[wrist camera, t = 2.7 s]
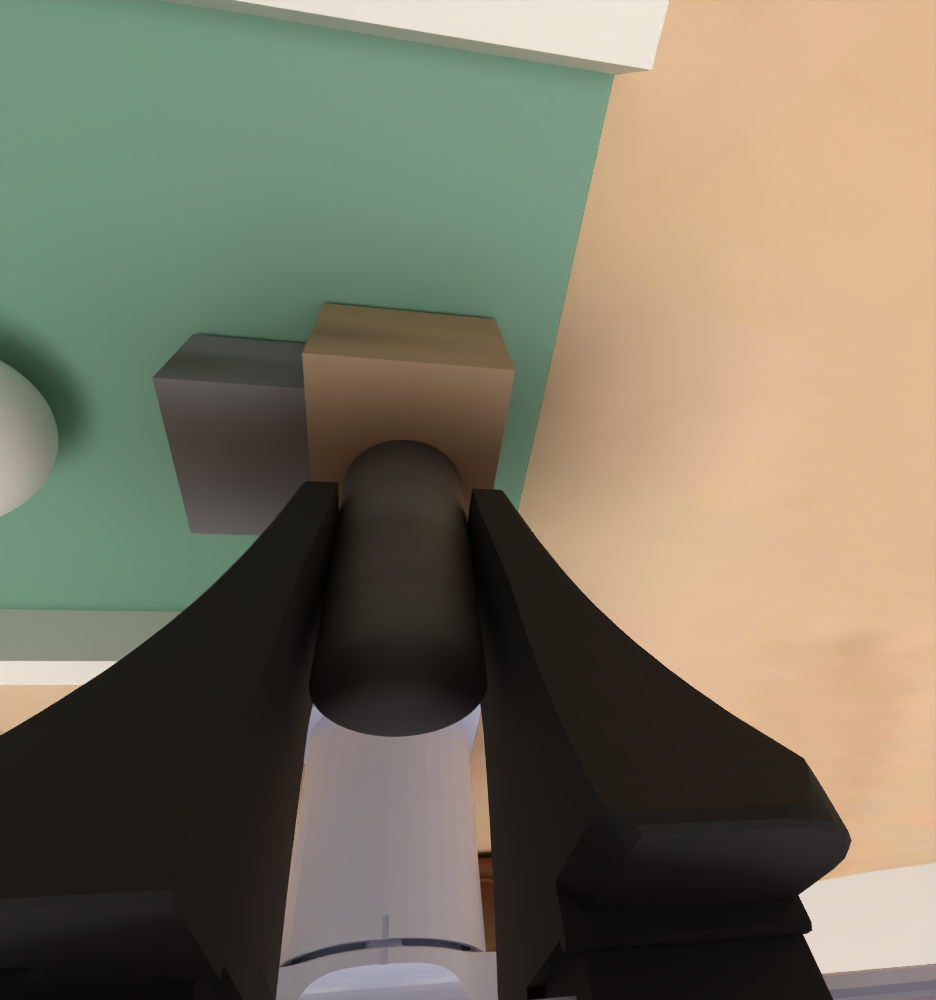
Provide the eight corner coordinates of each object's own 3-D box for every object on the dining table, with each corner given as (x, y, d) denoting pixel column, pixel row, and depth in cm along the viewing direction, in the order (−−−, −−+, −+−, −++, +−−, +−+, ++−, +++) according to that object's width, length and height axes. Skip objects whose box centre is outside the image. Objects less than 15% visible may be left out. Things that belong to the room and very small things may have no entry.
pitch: (486, 616, 21) (496, 683, 19) (-298, 605, 17) (-411, 686, 15) (616, -3, 10) (677, -32, 8) (-1341, -366, 7) (-2312, -623, 4)
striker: (466, 515, 16) (501, 783, 10) (225, 505, 15) (91, 796, 9) (495, 319, 13) (579, 540, 6) (184, 290, 12) (-88, 516, 5)
